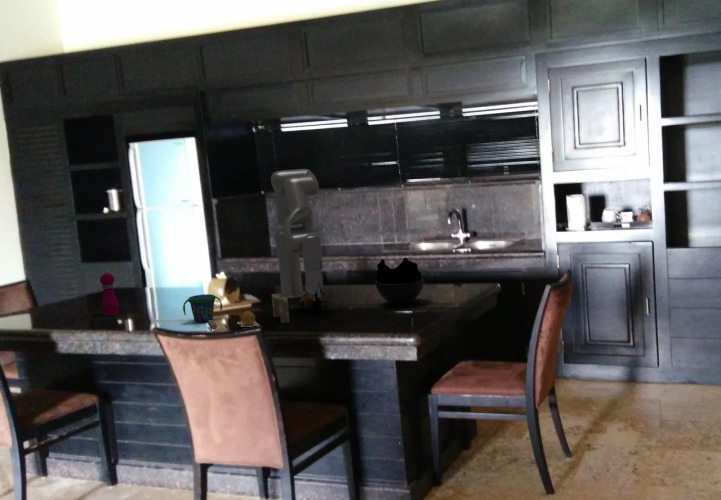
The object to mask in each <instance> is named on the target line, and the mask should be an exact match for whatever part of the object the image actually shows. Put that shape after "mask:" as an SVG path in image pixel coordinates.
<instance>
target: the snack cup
mask: <svg viewBox="0 0 721 500" xmlns="http://www.w3.org/2000/svg"><path fill="white" fill-rule="evenodd" d="M216 299H217V300H218V301H219V303H220V307H219V308H220V309H219V311H222V310H223V303H222V300H221V299H220V298H219V297H218V296H216V295H215V294H210V293H208V294H207V293H206V294H196V295H192V296H189V297H188V299H186V300H185V301H184V302H183V306H182V311H183V314H184V316H187V314H186V304H187V303H188V302H189V304H190V309H191V312H192V316H193V320H194V322H195V321H197V322H196V323H199V322H202V323H206V322H205V321H207V322H208V320H212V319H213V320H214V314H215V313H214V311H215V308H214V307H215V302H216Z"/></svg>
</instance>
